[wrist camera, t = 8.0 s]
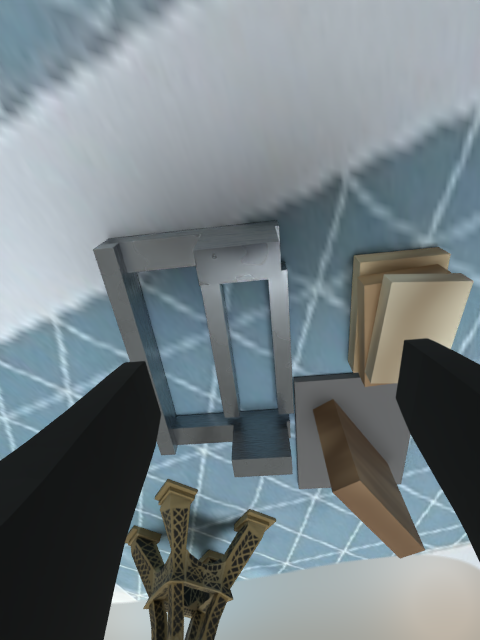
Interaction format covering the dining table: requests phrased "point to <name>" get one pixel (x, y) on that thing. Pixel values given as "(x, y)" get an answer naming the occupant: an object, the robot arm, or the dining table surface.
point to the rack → (213, 270)
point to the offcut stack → (401, 308)
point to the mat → (364, 411)
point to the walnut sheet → (364, 480)
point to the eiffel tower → (190, 568)
